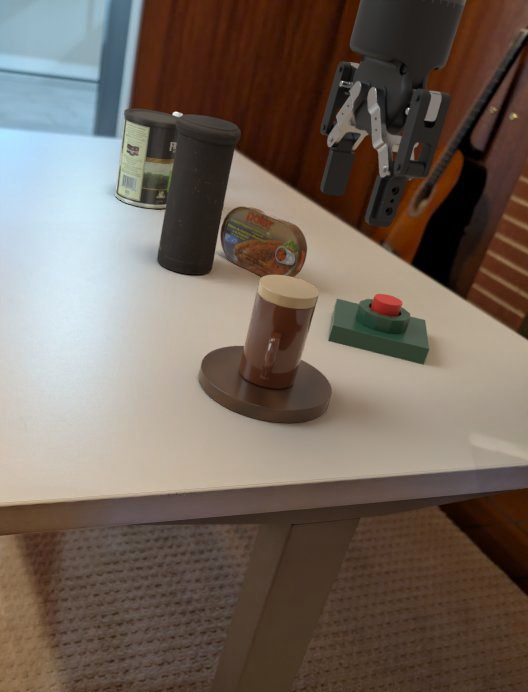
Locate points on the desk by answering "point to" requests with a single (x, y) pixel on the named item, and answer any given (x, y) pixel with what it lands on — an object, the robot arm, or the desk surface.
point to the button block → (379, 331)
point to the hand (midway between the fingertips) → (352, 208)
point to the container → (196, 193)
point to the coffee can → (146, 158)
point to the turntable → (263, 390)
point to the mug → (278, 331)
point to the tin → (263, 242)
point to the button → (386, 305)
